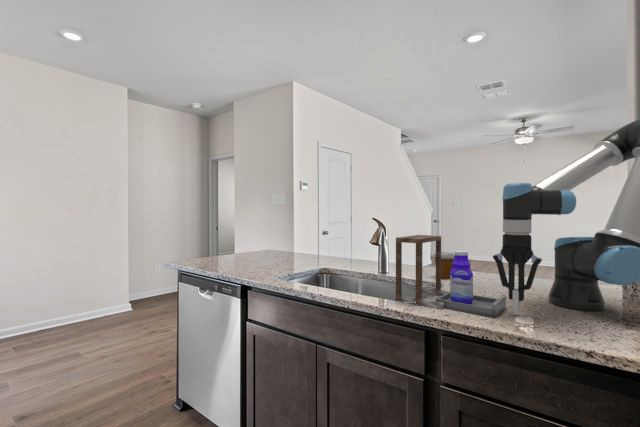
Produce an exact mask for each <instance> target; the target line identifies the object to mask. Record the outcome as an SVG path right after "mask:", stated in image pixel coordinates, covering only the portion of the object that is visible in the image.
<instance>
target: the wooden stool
mask: <svg viewBox="0 0 640 427" xmlns="http://www.w3.org/2000/svg"><path fill="white" fill-rule="evenodd" d="M432 242H435V252H436V264H435V288H431V287H425V286H423V244H426V243H432ZM403 243H409V244H415V296H410V295H409V296H408V295H404V294H402V291H403V290H402V287H403V286H402V282H403V281H402V280H403V279H402V277H403V276H402V274H403V273H402V272H403V271H402V270H403V269H402V265H403V263H402V260H403V259H402V256H403V255H402V252H403V251H402V250H403V249H402V247H403V245H402V244H403ZM441 252H442V235H430V234H429V235H428V234H427V235H426V234H425V235H424V234H415V235H406V236H399V237H395V301H396V302H404V303H408V304H413V303H415V302H416V304H418V305H417V306H423V305H425V306H424V307H428V308H429V307H430V308H433V309H439V310H444V309H445V308H444V303H442V302H437V301H436V300H430V299H425V298H422V297H423V296H422V294H423V293H424V294H428V295H434V296H435V295H436V296H439V297H441V296H443V295H445V294H447V293H448V292H450V290H445V289H442V279H441ZM416 304H415V305H416Z"/></svg>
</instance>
